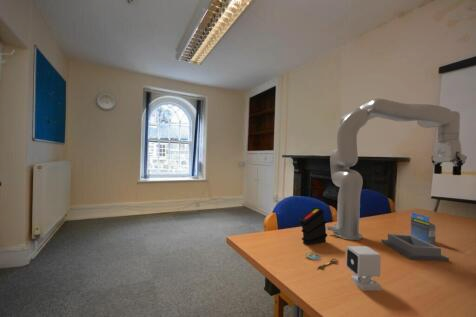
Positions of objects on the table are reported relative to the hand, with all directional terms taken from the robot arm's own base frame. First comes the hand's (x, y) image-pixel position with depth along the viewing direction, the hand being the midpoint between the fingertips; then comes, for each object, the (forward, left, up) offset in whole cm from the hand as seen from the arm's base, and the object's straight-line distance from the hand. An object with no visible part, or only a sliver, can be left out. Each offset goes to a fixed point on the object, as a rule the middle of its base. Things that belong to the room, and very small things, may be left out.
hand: (446, 174), depth 104 cm
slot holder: (-26, -15, -31) cm, 43 cm away
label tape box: (-11, -1, -32) cm, 33 cm away
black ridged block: (-65, -12, -31) cm, 73 cm away
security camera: (-60, -43, -31) cm, 80 cm away
